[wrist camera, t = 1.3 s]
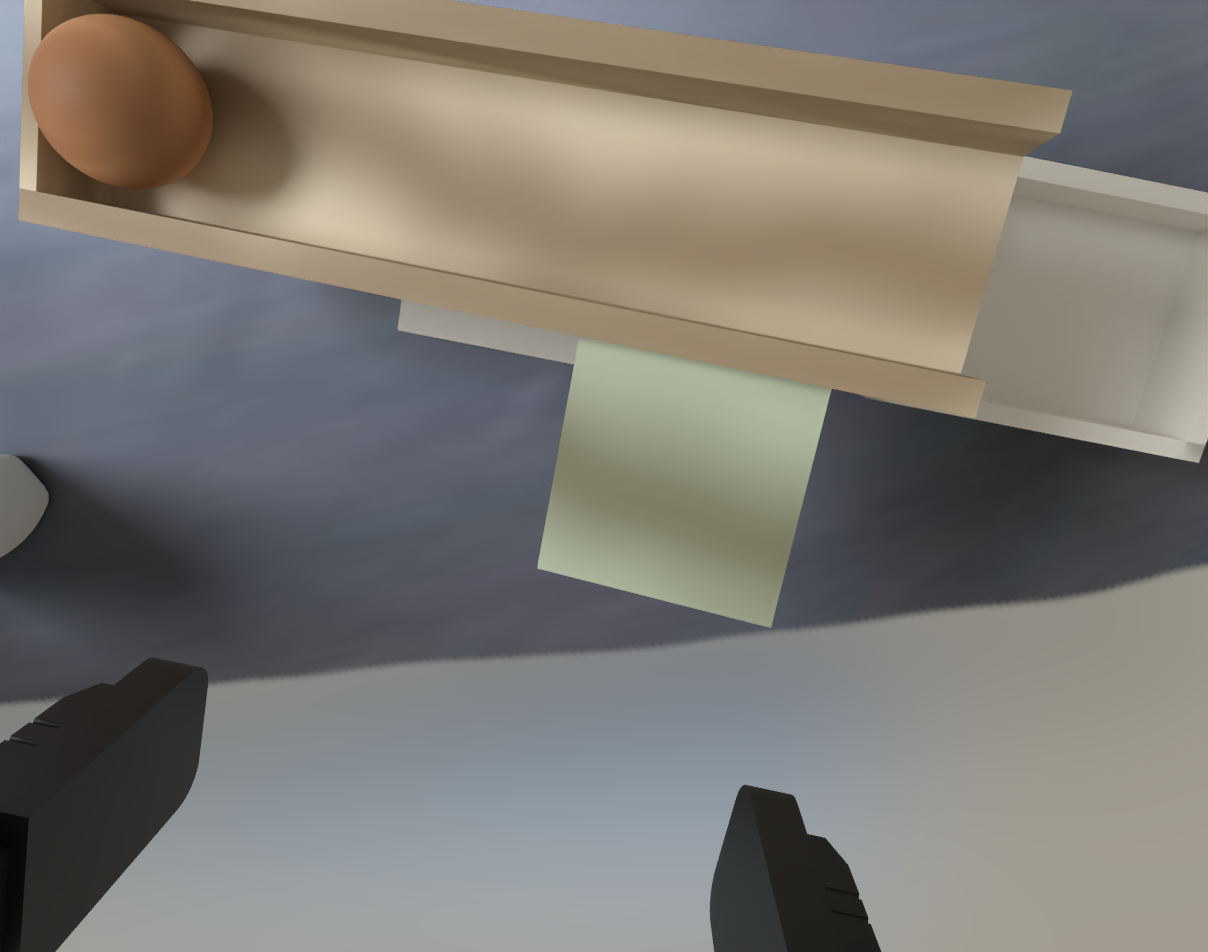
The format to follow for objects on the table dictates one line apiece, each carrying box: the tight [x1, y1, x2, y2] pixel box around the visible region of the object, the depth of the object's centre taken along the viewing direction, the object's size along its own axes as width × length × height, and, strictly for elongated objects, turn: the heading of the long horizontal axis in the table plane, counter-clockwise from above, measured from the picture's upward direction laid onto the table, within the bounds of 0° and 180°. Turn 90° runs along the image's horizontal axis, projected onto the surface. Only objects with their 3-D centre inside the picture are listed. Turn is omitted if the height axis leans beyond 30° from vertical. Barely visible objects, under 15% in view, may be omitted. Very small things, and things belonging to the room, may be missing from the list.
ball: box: [28, 14, 213, 189], centre depth 21 cm, size 4×4×4 cm
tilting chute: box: [19, 0, 1072, 628], centre depth 22 cm, size 13×24×6 cm, turn 79°
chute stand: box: [398, 300, 579, 364], centre depth 26 cm, size 10×8×6 cm
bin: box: [859, 156, 1208, 463], centre depth 28 cm, size 8×11×4 cm
